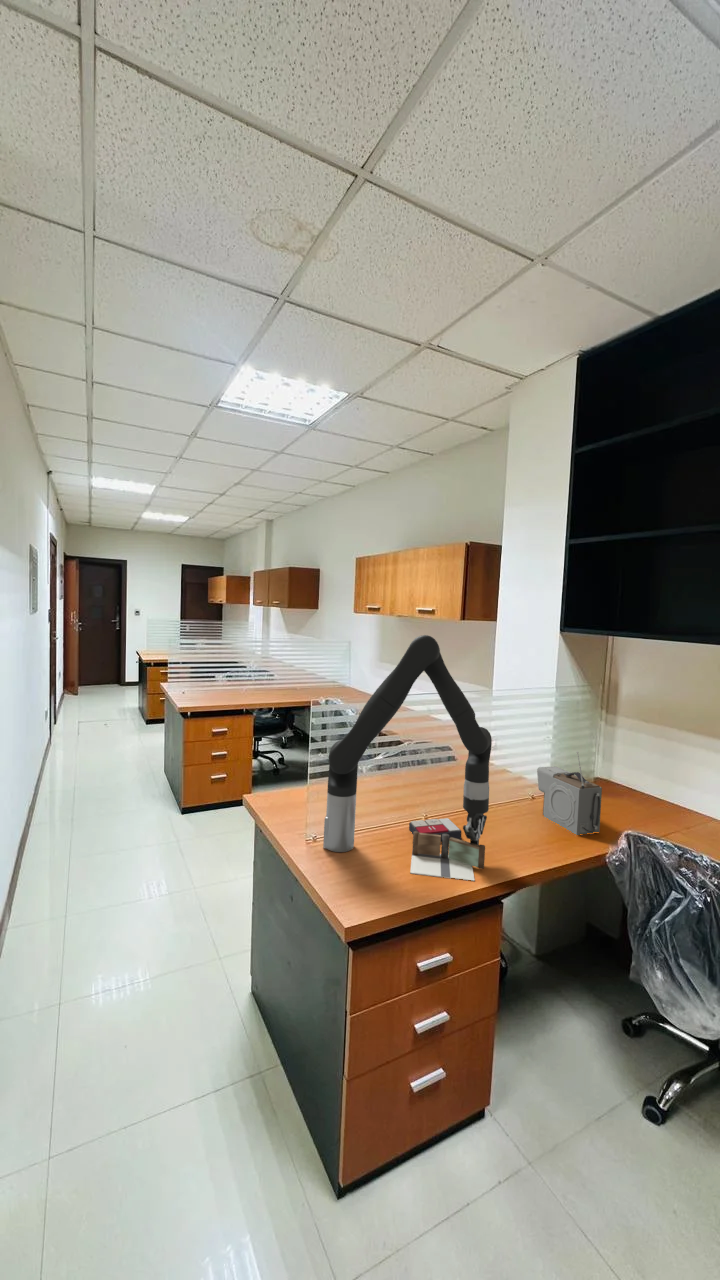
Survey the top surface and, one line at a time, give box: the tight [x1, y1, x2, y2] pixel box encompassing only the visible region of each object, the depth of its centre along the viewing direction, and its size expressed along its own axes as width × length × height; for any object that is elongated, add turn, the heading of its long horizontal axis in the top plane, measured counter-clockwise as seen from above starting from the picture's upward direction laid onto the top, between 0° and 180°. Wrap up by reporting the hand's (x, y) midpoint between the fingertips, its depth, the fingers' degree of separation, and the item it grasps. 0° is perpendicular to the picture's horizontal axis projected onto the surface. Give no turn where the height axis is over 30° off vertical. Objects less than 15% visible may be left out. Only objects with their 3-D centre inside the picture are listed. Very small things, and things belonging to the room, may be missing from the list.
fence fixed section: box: [411, 831, 449, 859], centre depth 148 cm, size 11×2×7 cm, turn 81°
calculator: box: [408, 817, 462, 843], centre depth 165 cm, size 11×4×15 cm
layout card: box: [409, 853, 476, 882], centre depth 143 cm, size 18×14×1 cm
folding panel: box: [448, 837, 486, 870], centre depth 144 cm, size 11×2×6 cm, turn 56°
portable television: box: [536, 751, 603, 836], centre depth 181 cm, size 12×24×30 cm, turn 18°
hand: (474, 850), depth 146 cm, fingers closed
